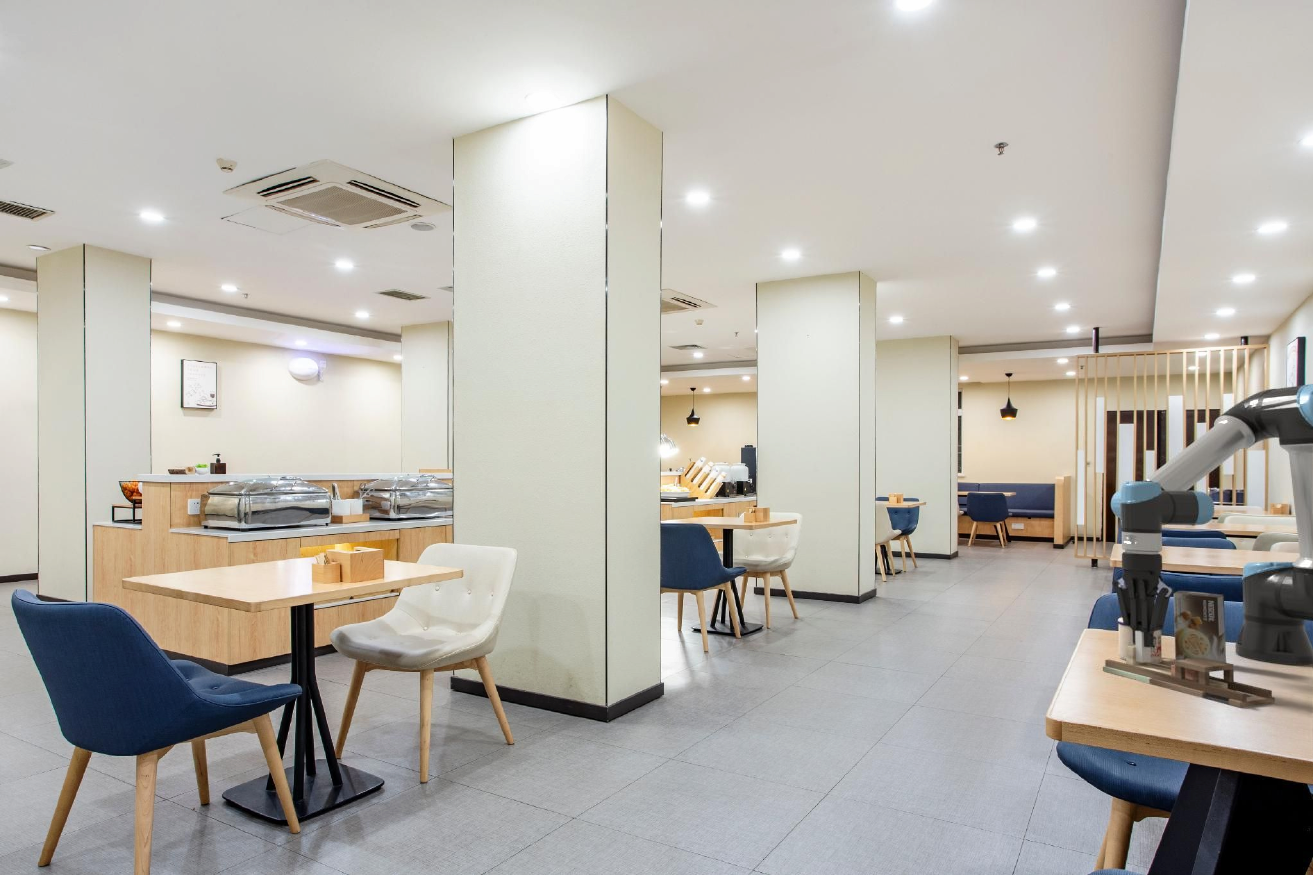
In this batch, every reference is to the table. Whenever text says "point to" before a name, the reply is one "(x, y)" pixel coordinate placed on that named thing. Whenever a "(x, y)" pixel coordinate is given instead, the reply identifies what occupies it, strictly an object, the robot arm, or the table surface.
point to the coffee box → (1199, 626)
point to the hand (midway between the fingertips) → (1143, 661)
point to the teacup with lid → (1127, 640)
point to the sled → (1188, 672)
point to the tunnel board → (1195, 687)
